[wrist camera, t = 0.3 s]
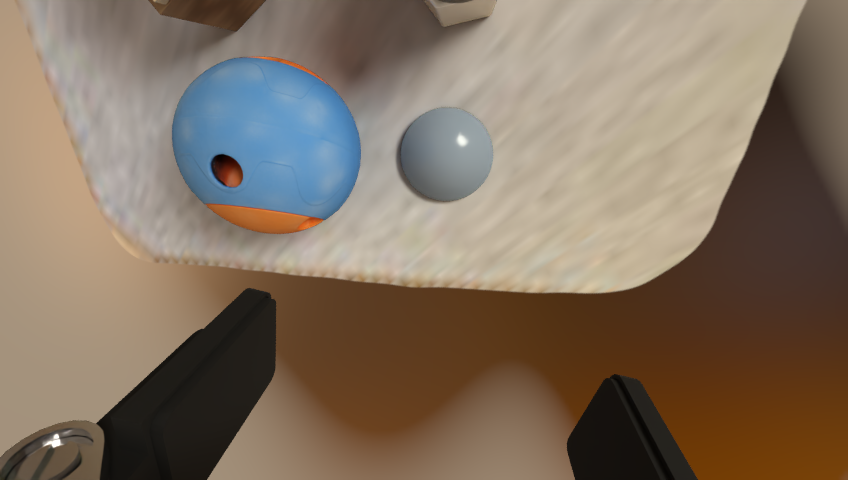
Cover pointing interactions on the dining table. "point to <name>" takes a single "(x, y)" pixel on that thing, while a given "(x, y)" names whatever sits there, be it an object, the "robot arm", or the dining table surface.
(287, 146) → the treat dispenser ball
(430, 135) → the saucer
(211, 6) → the box
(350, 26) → the dining table surface
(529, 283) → the dining table surface
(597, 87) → the dining table surface
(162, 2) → the lid
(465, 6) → the jar
